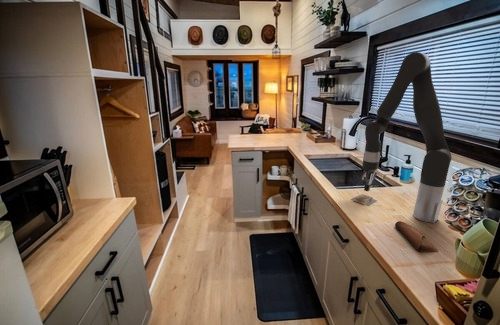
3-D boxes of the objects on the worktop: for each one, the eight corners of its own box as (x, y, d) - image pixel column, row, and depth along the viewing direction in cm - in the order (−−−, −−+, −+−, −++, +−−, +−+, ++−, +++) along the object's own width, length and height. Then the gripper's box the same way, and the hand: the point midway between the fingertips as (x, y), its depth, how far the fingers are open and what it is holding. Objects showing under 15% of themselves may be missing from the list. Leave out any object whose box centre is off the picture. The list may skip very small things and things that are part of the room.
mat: (377, 201, 136) (377, 200, 136) (368, 207, 130) (368, 206, 130) (359, 195, 144) (359, 194, 144) (350, 200, 138) (350, 199, 138)
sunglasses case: (441, 252, 95) (435, 239, 94) (422, 260, 97) (416, 247, 95) (413, 226, 112) (408, 215, 111) (398, 233, 114) (392, 222, 112)
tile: (372, 197, 136) (365, 201, 131) (372, 200, 137) (364, 204, 132) (362, 193, 141) (354, 198, 136) (361, 196, 141) (354, 200, 136)
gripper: (372, 163, 125) (367, 196, 130) (384, 158, 132) (379, 189, 138) (357, 160, 130) (353, 191, 135) (370, 155, 138) (366, 185, 143)
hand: (366, 190), depth 137 cm, fingers closed
